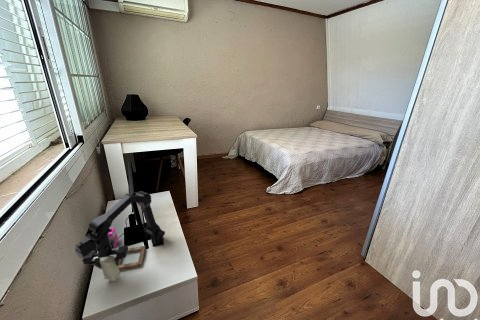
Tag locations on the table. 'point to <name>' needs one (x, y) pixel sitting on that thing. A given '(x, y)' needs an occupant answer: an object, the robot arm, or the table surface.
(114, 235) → the supplement box
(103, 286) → the table surface
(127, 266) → the square wooden frame
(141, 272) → the table surface
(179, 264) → the table surface
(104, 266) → the skincare box
